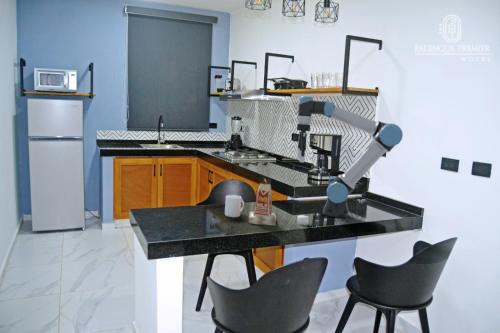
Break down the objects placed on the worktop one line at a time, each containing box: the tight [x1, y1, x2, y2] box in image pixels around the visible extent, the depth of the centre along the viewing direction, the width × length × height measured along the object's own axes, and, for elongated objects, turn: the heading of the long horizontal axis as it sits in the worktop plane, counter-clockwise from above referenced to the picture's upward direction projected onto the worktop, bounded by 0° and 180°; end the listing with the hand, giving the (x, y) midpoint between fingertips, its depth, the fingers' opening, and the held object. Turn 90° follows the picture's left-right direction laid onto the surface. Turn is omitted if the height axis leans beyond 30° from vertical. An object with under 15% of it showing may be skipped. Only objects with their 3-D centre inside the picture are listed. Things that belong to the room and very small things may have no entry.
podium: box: [248, 210, 277, 226], centre depth 221 cm, size 14×14×3 cm
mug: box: [224, 194, 245, 218], centre depth 229 cm, size 9×12×11 cm
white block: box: [296, 214, 310, 226], centre depth 222 cm, size 6×6×4 cm
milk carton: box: [253, 178, 273, 218], centre depth 220 cm, size 9×9×20 cm
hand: (300, 160), depth 238 cm, fingers open, 13 cm apart
